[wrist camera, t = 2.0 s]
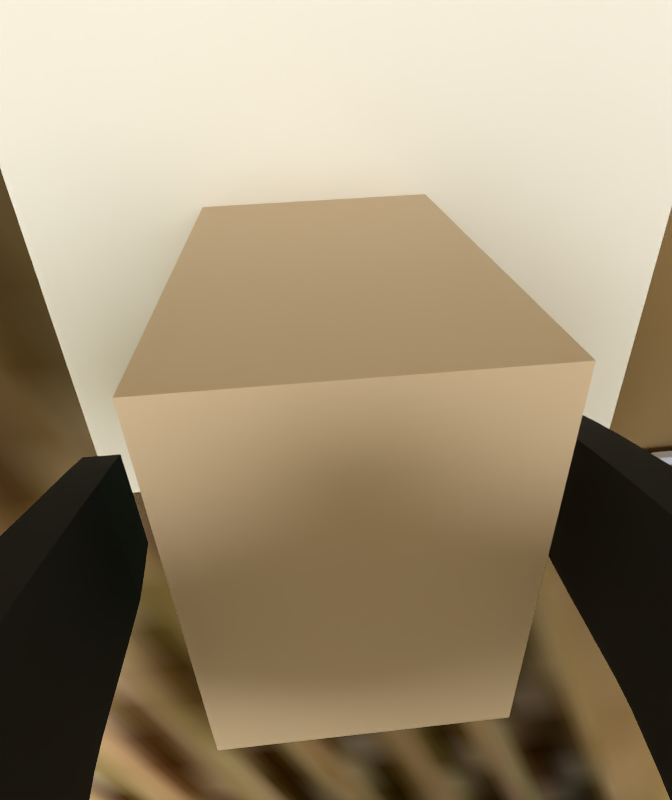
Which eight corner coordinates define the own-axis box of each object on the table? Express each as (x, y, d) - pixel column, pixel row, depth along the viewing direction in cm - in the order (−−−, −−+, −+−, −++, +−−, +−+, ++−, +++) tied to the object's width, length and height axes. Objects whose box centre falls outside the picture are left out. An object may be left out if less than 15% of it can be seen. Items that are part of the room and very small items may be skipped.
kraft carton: (424, 193, 13) (596, 361, 6) (413, 441, 16) (508, 717, 10) (193, 207, 12) (92, 399, 6) (235, 456, 16) (205, 751, 9)
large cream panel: (862, -575, 8) (1220, -958, 5) (593, 440, 18) (659, 520, 15) (-236, -598, 7) (-617, -1079, 4) (115, 481, 17) (80, 575, 14)
